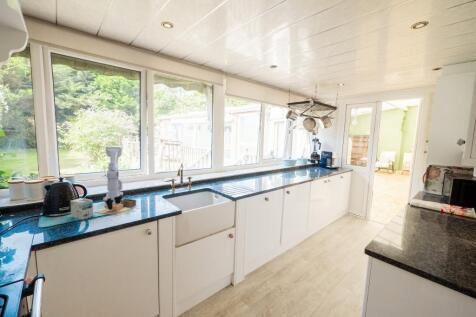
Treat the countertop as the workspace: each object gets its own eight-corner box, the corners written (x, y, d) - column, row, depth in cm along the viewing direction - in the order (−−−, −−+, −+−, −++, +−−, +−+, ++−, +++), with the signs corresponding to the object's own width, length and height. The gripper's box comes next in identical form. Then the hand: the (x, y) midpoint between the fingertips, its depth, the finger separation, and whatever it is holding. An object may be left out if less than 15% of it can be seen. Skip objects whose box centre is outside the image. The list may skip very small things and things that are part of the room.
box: (120, 206, 146) (120, 200, 146) (125, 204, 151) (125, 198, 151) (131, 207, 145) (131, 201, 144) (136, 205, 149) (135, 199, 149)
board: (95, 213, 133) (95, 212, 132) (112, 206, 146) (112, 205, 146) (118, 216, 129) (118, 215, 129) (133, 208, 142) (133, 208, 142)
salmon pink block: (104, 209, 135) (104, 205, 134) (111, 206, 140) (111, 202, 140) (116, 210, 133) (116, 206, 132) (123, 208, 138) (122, 204, 138)
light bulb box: (93, 216, 128) (93, 199, 127) (82, 220, 121) (81, 202, 120) (82, 213, 131) (81, 197, 130) (70, 217, 125) (69, 200, 124)
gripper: (109, 191, 127) (109, 212, 128) (126, 186, 141) (126, 205, 142) (100, 190, 129) (100, 211, 130) (118, 185, 143) (118, 204, 144)
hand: (113, 208), depth 136 cm, fingers closed on salmon pink block, 5 cm apart
